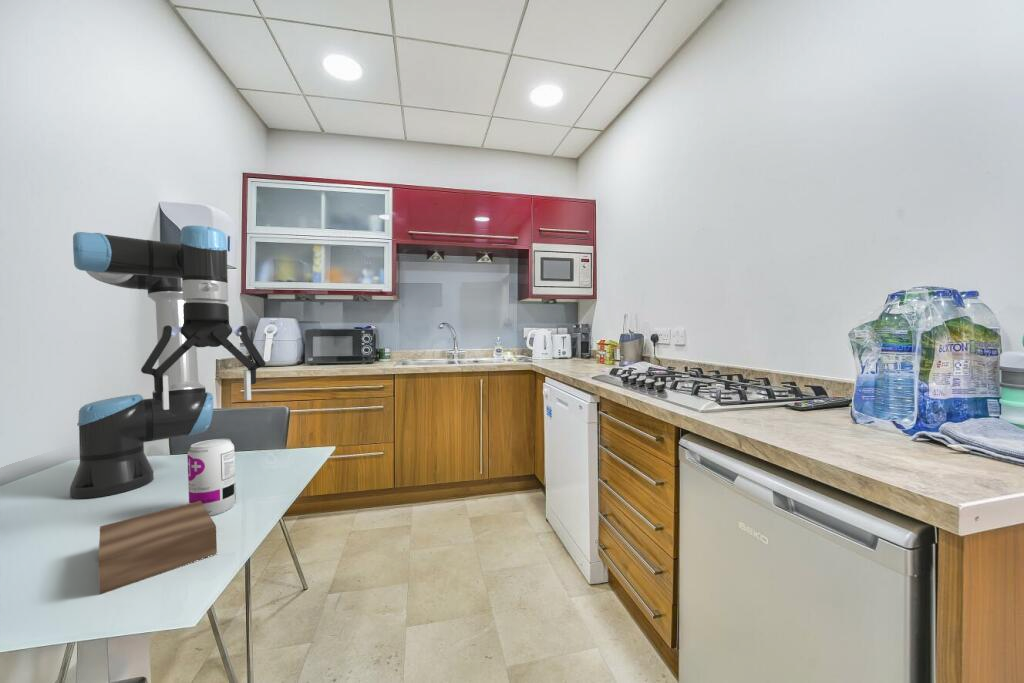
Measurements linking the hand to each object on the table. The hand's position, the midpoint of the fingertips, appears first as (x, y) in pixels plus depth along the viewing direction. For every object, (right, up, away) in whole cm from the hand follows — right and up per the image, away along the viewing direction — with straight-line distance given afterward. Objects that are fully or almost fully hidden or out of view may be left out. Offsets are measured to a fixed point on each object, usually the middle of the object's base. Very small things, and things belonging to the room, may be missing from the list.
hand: (209, 404), depth 81 cm
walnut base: (+1, -24, -13) cm, 28 cm away
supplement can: (-3, -25, +5) cm, 25 cm away
